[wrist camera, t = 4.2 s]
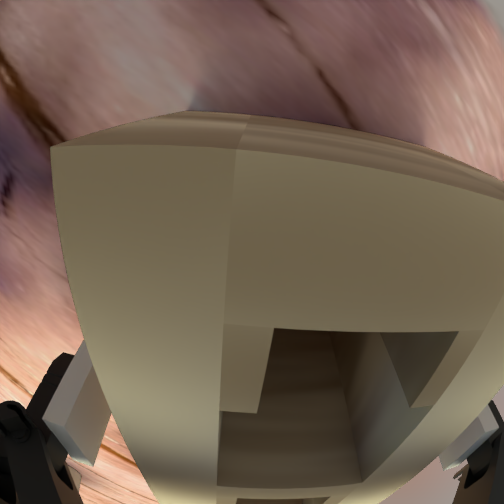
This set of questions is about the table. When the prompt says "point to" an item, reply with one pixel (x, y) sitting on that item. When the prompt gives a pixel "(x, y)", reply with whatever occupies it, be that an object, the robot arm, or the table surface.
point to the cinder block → (281, 302)
